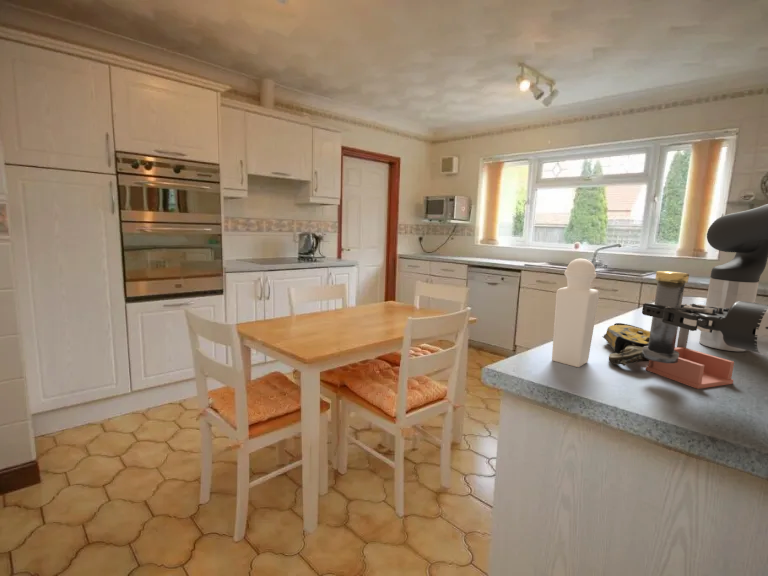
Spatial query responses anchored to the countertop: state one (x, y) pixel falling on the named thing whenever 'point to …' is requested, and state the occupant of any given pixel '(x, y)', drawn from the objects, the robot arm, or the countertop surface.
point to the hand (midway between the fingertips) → (650, 307)
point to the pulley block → (626, 343)
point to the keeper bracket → (694, 367)
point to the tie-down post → (661, 333)
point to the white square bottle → (575, 314)
